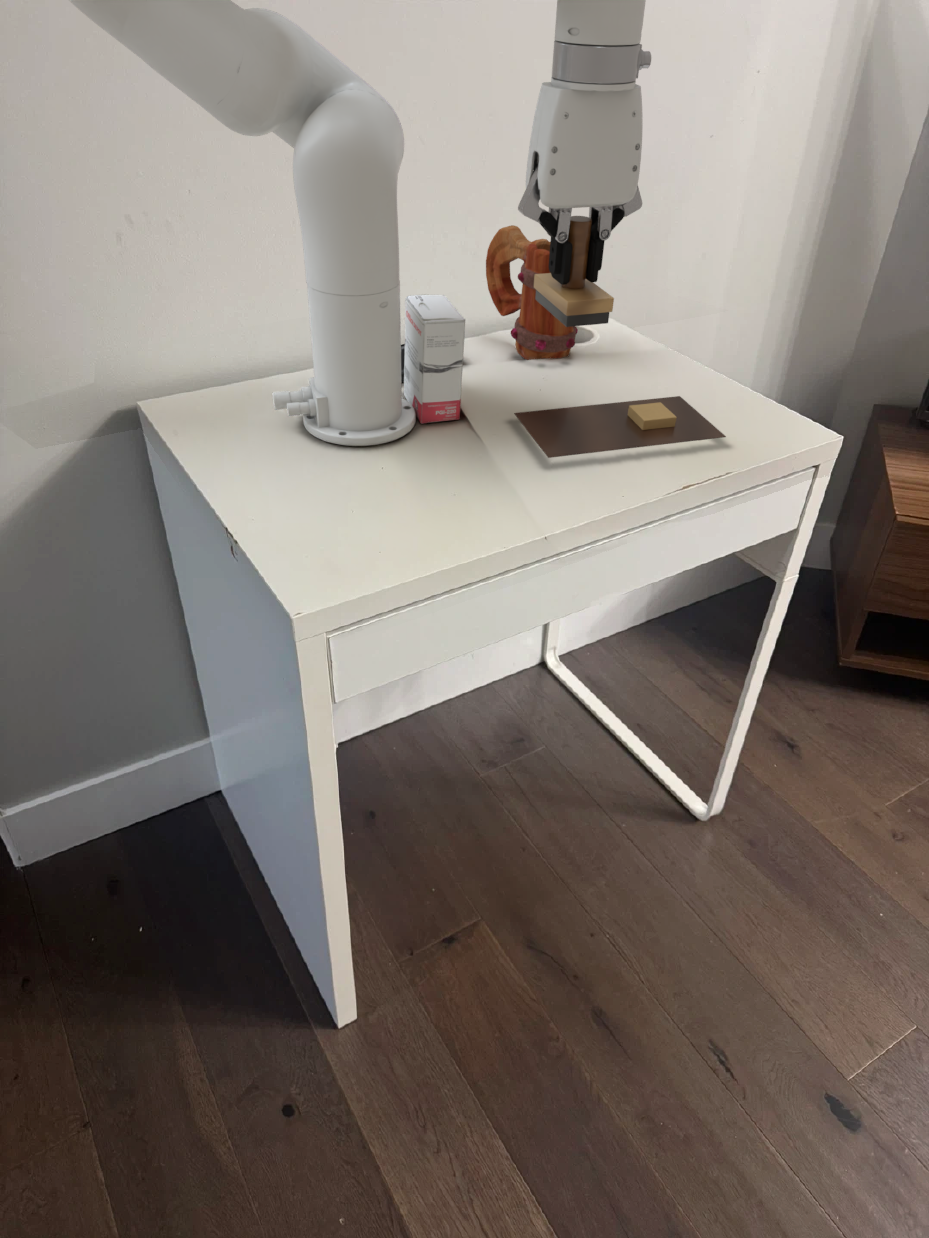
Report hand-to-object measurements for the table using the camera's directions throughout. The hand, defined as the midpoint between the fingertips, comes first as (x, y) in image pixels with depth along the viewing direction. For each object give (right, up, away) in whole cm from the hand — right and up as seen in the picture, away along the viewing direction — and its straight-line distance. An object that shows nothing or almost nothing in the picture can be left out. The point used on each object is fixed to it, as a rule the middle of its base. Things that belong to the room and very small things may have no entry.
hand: (573, 278), depth 89 cm
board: (+6, -14, +10) cm, 18 cm away
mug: (-3, +1, +29) cm, 29 cm away
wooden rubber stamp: (0, -3, +2) cm, 3 cm away
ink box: (-15, -10, +14) cm, 23 cm away
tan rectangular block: (+10, -12, +10) cm, 19 cm away
